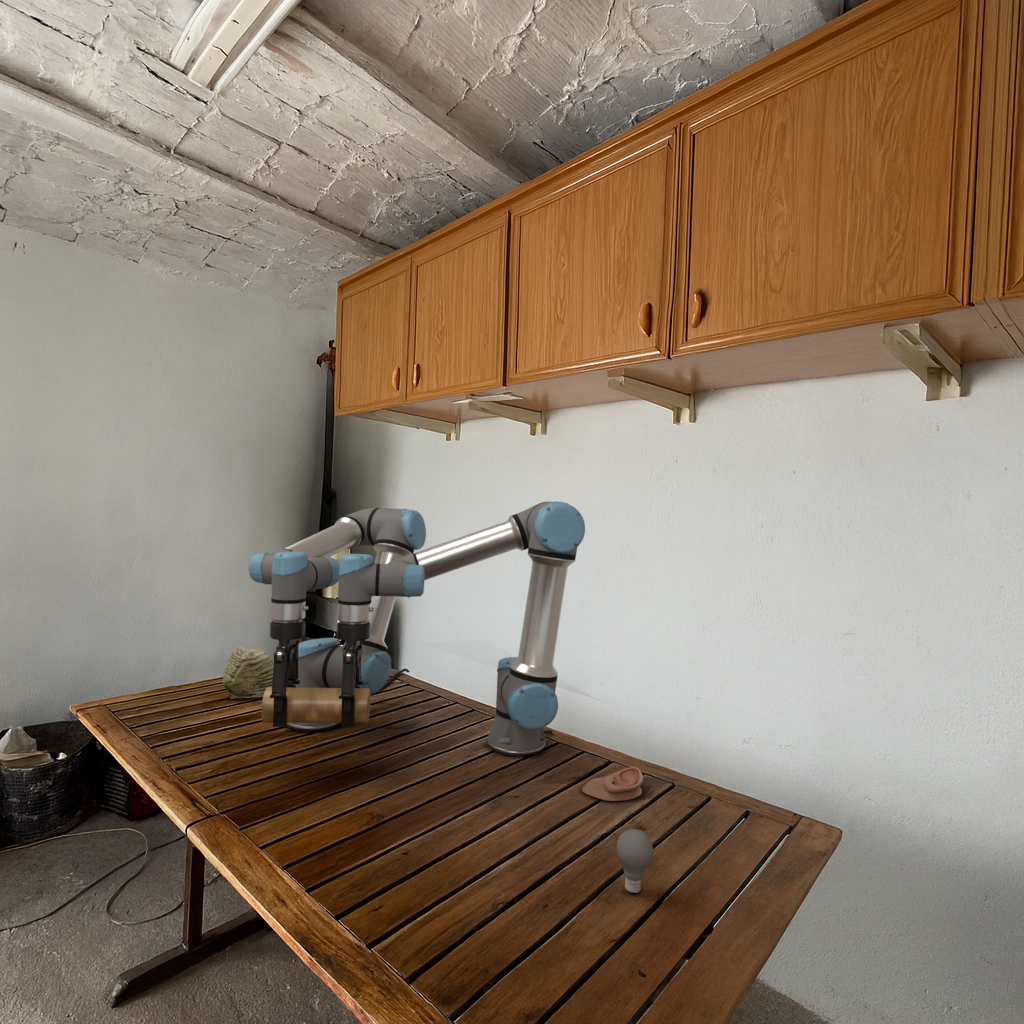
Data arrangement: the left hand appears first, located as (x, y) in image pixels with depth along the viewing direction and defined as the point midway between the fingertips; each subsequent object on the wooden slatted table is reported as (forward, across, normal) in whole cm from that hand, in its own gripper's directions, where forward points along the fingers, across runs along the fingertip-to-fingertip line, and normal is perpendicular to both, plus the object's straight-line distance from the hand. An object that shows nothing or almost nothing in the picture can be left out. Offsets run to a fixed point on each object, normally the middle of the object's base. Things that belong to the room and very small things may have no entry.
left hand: (284, 719), depth 144 cm
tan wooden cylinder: (0, 0, -7) cm, 7 cm away
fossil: (+12, +56, +22) cm, 62 cm away
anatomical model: (+12, -10, -74) cm, 76 cm away
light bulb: (+12, -47, -68) cm, 83 cm away
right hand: (0, 0, -15) cm, 15 cm away
